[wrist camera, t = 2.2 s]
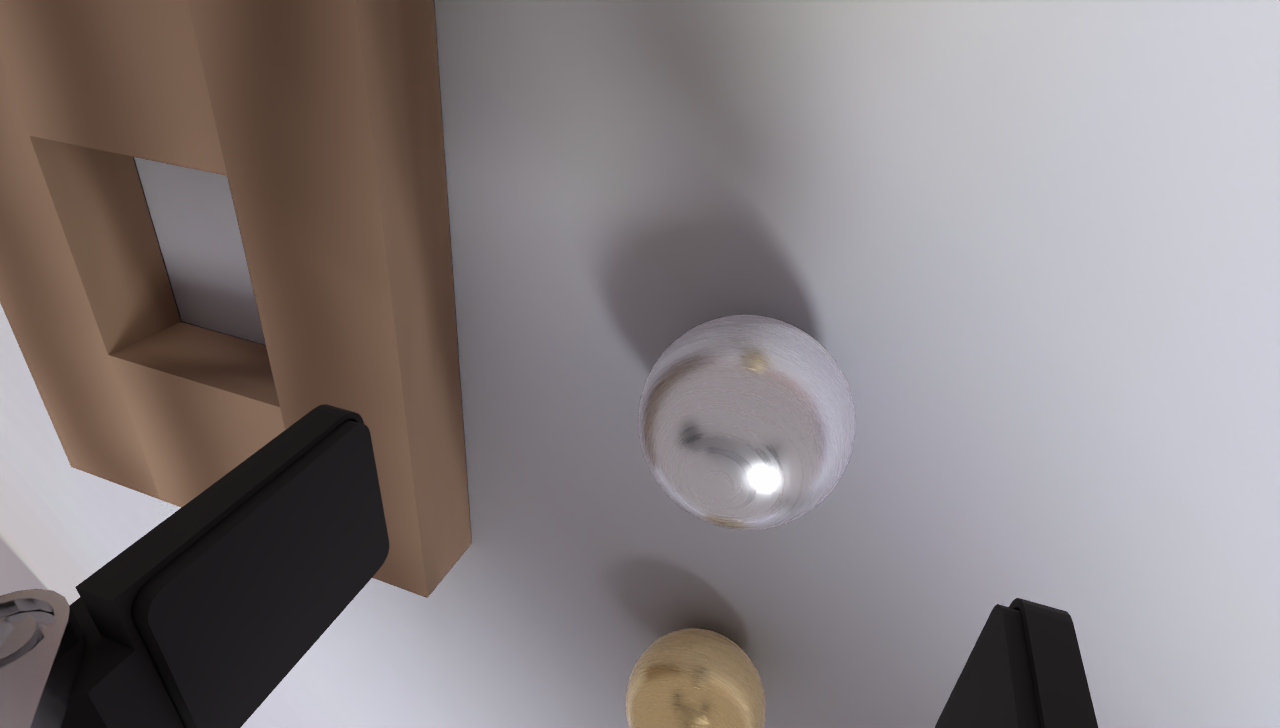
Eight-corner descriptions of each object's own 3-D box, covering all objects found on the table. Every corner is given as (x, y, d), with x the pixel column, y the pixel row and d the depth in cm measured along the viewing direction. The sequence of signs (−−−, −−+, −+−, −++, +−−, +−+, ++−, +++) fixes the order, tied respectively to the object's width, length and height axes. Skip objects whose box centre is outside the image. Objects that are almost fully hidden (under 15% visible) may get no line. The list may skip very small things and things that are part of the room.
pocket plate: (426, -100, 14) (342, -114, 12) (471, 543, 23) (427, 597, 21) (-66, -131, 18) (-194, -146, 16) (135, 430, 27) (71, 466, 25)
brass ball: (788, 625, 20) (761, 751, 17) (765, 709, 22) (737, 838, 19) (657, 582, 21) (607, 693, 18) (647, 667, 23) (601, 781, 20)
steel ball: (885, 306, 15) (872, 413, 11) (840, 471, 17) (815, 606, 13) (684, 265, 16) (611, 351, 12) (666, 425, 18) (600, 538, 15)
